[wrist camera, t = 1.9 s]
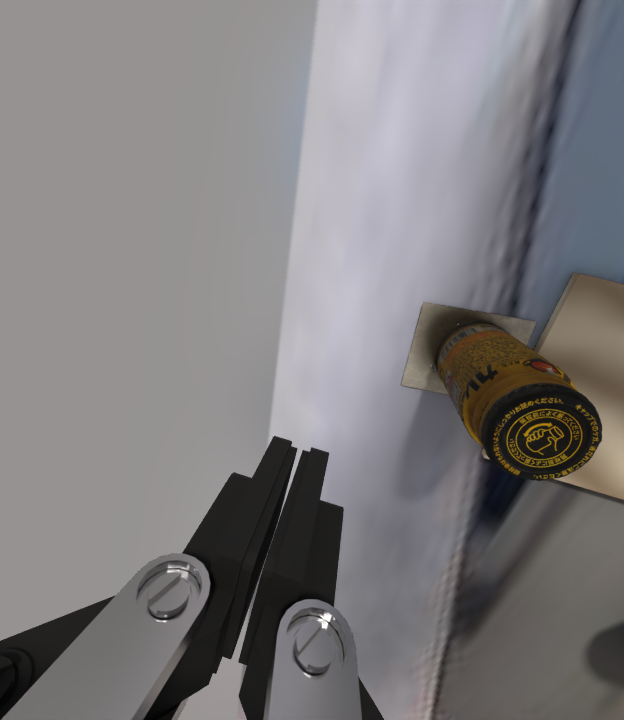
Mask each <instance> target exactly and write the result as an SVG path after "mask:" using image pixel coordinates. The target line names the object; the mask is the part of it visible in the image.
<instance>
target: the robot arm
mask: <svg viewBox="0 0 624 720" xmlns="http://www.w3.org/2000/svg"><path fill="white" fill-rule="evenodd" d="M291 444H292V441H289V440H286V439H283V438H280V437H276V436H274V437H273V439H272V441H271V443H270V445H269V446H268V448H267V450H266V452H265V454H264V456H263V458H262V460H261V462H260V464H259V466H258V468H257V470H256V472H255V473H254V475H253V477H252V478H250V477H246V476H243V475H240V474H237V473H232V474H231V476H230V477H229V479H228V481H227V482H226V483H225V485H224V487H223V488H222V490H221V492H220V493H219V495H218V496H217V498H216V500H215V501H214V503H213V504H212V506H211V508H210V509H209V511H208V513H207V514H206V516H205V518H204V519H203V521H202V522H201V524H200V525H199V527H198V529H197V530H196V532H195V533H194V535H193V537H192V538H191V540H190V542H189V543H188V545H187V546H186V548H185V550H184V551H183V553H182V554H178V553H172V554H168V555H163V556H160V557H158V558H156V559H154V560H152V561H150V562H148V563H147V564H146V565H145V566H144V567H143V568H141V569H140V570H139V571H138V572H137V573H136V574H135V575H134V576H133V578H132V579H131V580H130V581H129V582H128V583H127V584H126V585H125V586H124V588H122V589H121V590H120V592H119V593H118V594H117V595H115V596H113V597H110V598H108V599H105V600H103V601H100V602H98V603H95V604H93V605H90V606H88V607H85V608H83V609H80V610H77V611H75V612H72V613H70V614H67V615H65V616H62V617H60V618H57V619H55V620H52V621H50V622H47V623H44V624H42V625H39V626H37V627H35V628H32V629H29V630H27V631H24V632H22V633H19V634H17V635H14V636H11V637H9V638H7V639H4V640H1V641H0V720H178V718H179V716H180V714H181V712H182V710H183V709H184V707H185V705H186V702H187V700H188V697H189V696H191V695H192V694H194V693H196V692H198V691H199V690H201V689H202V688H204V687H205V686H207V685H209V682H210V679H211V676H212V674H213V673H215V674H216V673H217V670H218V667H219V664H220V662H221V659H222V656H223V657H226V658H228V659H231V658H232V655H233V652H234V650H235V647H236V644H237V641H238V638H239V635H240V632H241V629H242V626H243V623H244V620H245V617H246V614H247V612H248V609H249V606H250V603H251V600H252V597H253V594H254V591H255V588H256V585H257V582H258V579H259V576H260V573H261V570H262V568H263V571H262V574H261V578H260V582H259V585H258V589H257V593H256V597H255V601H254V604H253V608H252V612H251V616H250V620H249V623H248V627H247V631H246V635H245V639H244V642H243V646H242V650H241V654H240V658H239V663H242V664H245V665H247V668H246V671H245V675H244V679H243V682H242V686H241V689H240V693H239V698H240V701H241V704H242V707H243V710H244V712H245V715H246V718H247V720H384V718H383V717H382V715H381V713H380V712H379V710H378V708H377V707H376V705H375V703H374V702H373V700H372V698H371V697H370V695H369V693H368V692H367V690H366V688H365V687H364V685H363V683H362V682H361V680H360V678H359V677H358V669H357V657H356V647H355V642H354V637H353V633H352V631H351V629H350V627H349V625H348V623H347V621H346V620H345V618H344V617H343V616H342V615H341V614H340V612H339V611H338V610H337V609H335V608H334V598H335V589H336V579H337V569H338V560H339V550H340V541H341V531H342V522H343V511H344V509H343V507H340V506H337V505H334V504H331V503H328V502H325V501H321V500H320V496H321V491H322V486H323V481H324V476H325V471H326V466H327V462H328V457H329V453H328V452H325V451H322V450H319V449H315V448H312V447H311V451H310V452H308V451H305V450H303V451H302V454H301V457H300V460H299V463H298V466H297V469H296V472H295V475H294V478H293V481H292V484H291V487H290V490H289V493H288V496H287V499H286V502H285V505H284V507H283V510H282V513H281V516H280V512H281V509H282V505H283V501H284V497H285V494H286V490H287V486H288V482H289V479H290V475H291V471H292V467H293V464H294V460H295V456H296V452H297V448H295V447H292V446H291ZM279 516H280V519H279ZM278 520H279V522H278ZM277 523H278V525H277ZM276 526H277V528H276ZM275 529H276V531H275ZM274 532H275V534H274ZM273 535H274V537H273ZM272 538H273V540H272ZM271 541H272V543H271ZM270 544H271V546H270ZM269 547H270V549H269ZM268 550H269V552H268ZM267 553H268V555H267ZM266 556H267V558H266ZM265 559H266V561H265ZM264 562H265V564H264ZM263 565H264V567H263Z"/></svg>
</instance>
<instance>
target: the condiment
mask: <svg viewBox="0 0 624 720" xmlns="http://www.w3.org/2000/svg"><path fill="white" fill-rule="evenodd" d="M458 323H459V325H457V324H458ZM535 325H536V321H530V320H525V319H519V318H513V317H507V316H502V315H496V314H490V313H485V312H479V311H472V310H466V309H461V308H455V307H450V306H444V305H437V304H432V303H426V302H424V303H423V306H422V310H421V313H420V317H419V320H418V324H417V328H416V331H415V335H414V339H413V342H412V346H411V350H410V353H409V357H408V361H407V365H406V368H405V373H404V376H403V380H402V384H401V385H404V386H408V387H413V388H419V389H422V390H428V391H433V392H437V393H443V394H448V395H450V397H451V399H452V401H453V403H454V406H455V408H456V410H457V412H458V414H459V415H460V417H461V420H462V422H463V424H464V425H465V427H466V429H467V431H468V432H469V434H470V436H471V437H472V438H473V439H475V440H476V441H477V442H478V443H479V444H481V445H482V447H483V448H484V449H485V451H486V455H487V456H488V457H489V459H490V460H491V461H492V462H493V463H494V464H495V465H497V466H498V467H500V468H501V469H502V470H504V471H505V472H506V473H508V474H511V475H513V476H516V477H520V478H523V479H530V480H537V481H541V480H547V479H555V478H561V477H564V476H567V475H568V474H570V473H572V472H574V471H576V470H578V469H579V468H581V467H582V466H583V465H585V464H586V463H587V462H588V461H589V460H590V459H591V458H592V456H593V455H594V453H595V451H596V450H597V448H598V446H599V444H600V442H601V441H602V423H601V420H600V417H599V414H598V412H597V410H596V407H595V406H594V405H593V404H592V403H591V402H590V401H589V400H588V398H587V397H585V396H584V395H583V394H581V393H579V391H578V390H577V389H576V388H575V385H574V383H573V382H572V381H571V379H570V378H569V377H568V375H566V374H565V373H564V372H563V371H562V370H561V369H560V368H559V367H558V366H556V365H554V364H552V363H551V362H549V361H548V360H546V359H545V358H544V357H542V356H541V355H539V354H538V353H536V352H535V351H534V350H532V349H531V348H529V347H528V346H527V344H528V342H529V340H530V337H531V335H532V333H533V330H534V328H535ZM430 364H431V365H432V366H433V367H431V366H430ZM434 368H435V369H436V371H434Z"/></svg>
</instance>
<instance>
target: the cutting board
mask: <svg viewBox="0 0 624 720" xmlns="http://www.w3.org/2000/svg"><path fill="white" fill-rule="evenodd" d="M534 351H535V352H536V353H538V354H539V355H541V356H542V357H544V358H545V359H546V360H548V361H549V362H551V363H552V364H554V365H556V366H558V367H559V368H560V369H561V370H562V371H563V372H564V373H565V374H566V375H568V377H569V378H570V379H571V381H572V382H573V383H574V385H575V388H576V389H577V390H578V391H579V393H581V394H583V395H584V396H585V397H587V398H588V400H589V401H590V402H591V403H592V404H593V405H594V406H595V407H596V410H597V412H598V414H599V417H600V420H601V423H602V441H601V442H600V444H599V446H598V448H597V450H596V451H595V453H594V455H593V456H592V458H591V459H590V460H589V461H588V462H587V463H586V464H585V465H583V466H582V467H581V468H579V469H578V470H576V471H574V472H572V473H570V474H568V475H567V476H564V477H561V478H555V479H556V480H559V481H563V482H566V483H569V484H573V485H576V486H579V487H583V488H586V489H589V490H593V491H596V492H599V493H603V494H606V495H609V496H613V497H616V498H619V499H623V500H624V284H620V283H616V282H612V281H608V280H604V279H600V278H596V277H592V276H588V275H584V274H580V273H574V272H573V274H572V276H571V278H570V280H569V282H568V284H567V286H566V288H565V290H564V292H563V294H562V296H561V298H560V300H559V302H558V304H557V306H556V308H555V310H554V311H553V313H552V315H551V317H550V319H549V321H548V323H547V325H546V327H545V329H544V331H543V333H542V335H541V337H540V339H539V341H538V343H537V345H536V347H535V348H534ZM481 453H482V455H483V457H484V458H486V459H489V457H488V456H487V455H486V451H485V449H484V448H483V450H482V452H481Z"/></svg>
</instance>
